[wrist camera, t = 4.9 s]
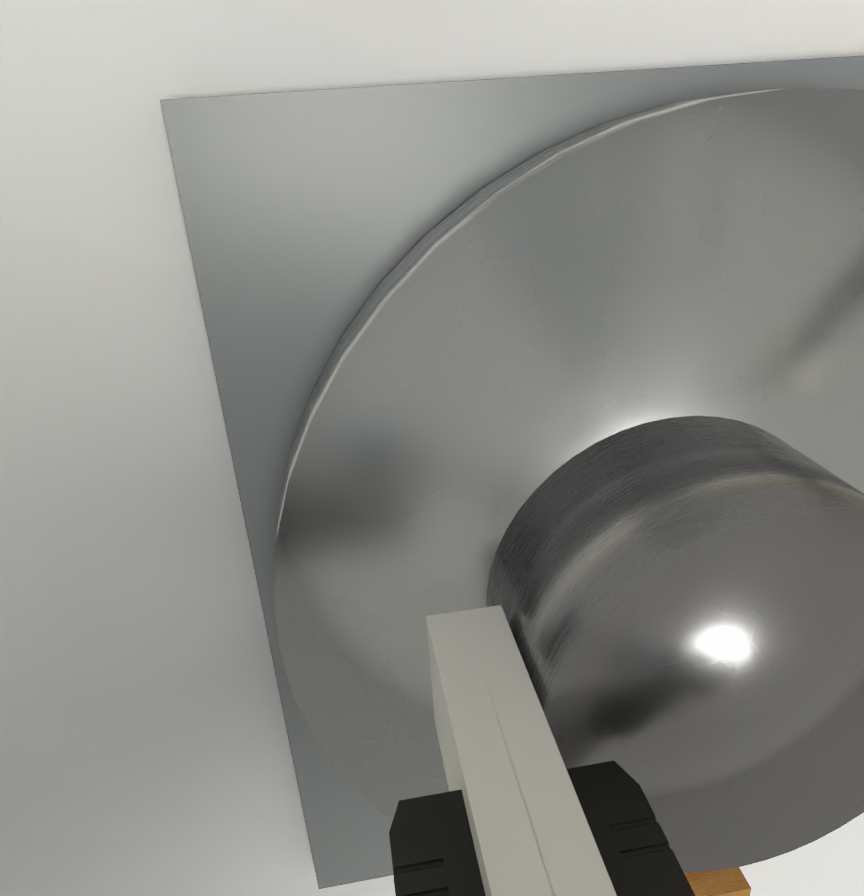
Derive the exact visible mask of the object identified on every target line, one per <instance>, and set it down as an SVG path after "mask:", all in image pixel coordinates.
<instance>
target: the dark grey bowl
mask: <svg viewBox="0 0 864 896" xmlns="http://www.w3.org/2000/svg"><path fill="white" fill-rule="evenodd" d="M497 605H501V607H502V609H503V612H504V614H505V617H506V619H507V622H508V624H509V627H510V629H511V632H512V634H513V637H514V639H515V642H516V644H517V647H518V649H519V652H520V654H521V657H522V659H523V662H524V664H525V667H526V669H527V672H528V674H529V677H530V679H531V682H532V684H533V687H534V689H535V692H536V694H537V697H538V699H539V702H540V704H541V707H542V709H543V712H544V714H545V717H546V719H547V722H548V724H549V727H550V729H551V732H552V734H553V737H554V739H555V742H556V744H557V747H558V749H559V752H560V754H561V757H562V760H563V762H564V765H565V767H566V769H569V768H574V767H580V766H585V765H591V764H597V763H602V762H608V761H615V762H616V763H617V764H618V765H619V766H621V767H622V768H623V769H624V770H625V771H626V772H627V773H628V774H629V775H630V776H631V777H632V778H633V779H634V780H635V781H636V782H637V783H638V784H639V785H640V786H641V788H642V790H643V792H644V794H645V796H646V798H647V800H648V802H649V804H650V806H651V808H652V810H653V812H654V814H655V816H656V821H657V823H658V822H659V824H660V826H661V828H662V830H663V832H664V834H665V836H666V838H667V840H668V842H669V847H670V849H672V850H673V852H674V854H675V856H676V858H677V860H678V862H679V864H680V866H681V868H682V870H683V872H684V873H694V872H706V871H717V870H723V869H729V868H735V867H740V866H744V865H748V864H752V863H756V862H760V861H763V860H767V859H770V858H773V857H776V856H778V855H781V854H784V853H787V852H790V851H792V850H795V849H797V848H799V847H801V846H804V845H806V844H808V843H811V842H813V841H815V840H817V839H819V838H821V837H823V836H825V835H826V834H828V833H830V832H832V831H834V830H836V829H838V828H840V827H841V826H843V825H844V824H846V823H847V822H849V821H851V820H852V819H854V818H855V817H857V816H858V815H860V814H862V813H863V812H864V494H863V493H862V492H860V491H859V490H857V489H856V488H854V487H853V486H851V485H850V484H848V483H847V482H845V481H844V480H842V479H841V478H839V477H838V476H836V475H834V474H833V473H831V472H830V471H828V470H827V469H825V468H824V467H822V466H821V465H819V464H818V463H816V462H815V461H813V460H812V459H810V458H809V457H807V456H805V455H804V454H802V453H801V452H799V451H798V450H796V449H795V448H793V447H792V446H790V445H789V444H787V443H786V442H784V441H783V440H781V439H780V438H778V437H776V436H774V435H772V434H771V433H769V432H767V431H765V430H763V429H761V428H759V427H756V426H753V425H750V424H748V423H745V422H742V421H738V420H733V419H727V418H722V417H712V416H685V417H673V418H666V419H662V420H657V421H652V422H647V423H644V424H641V425H638V426H635V427H632V428H629V429H626V430H623V431H620V432H618V433H616V434H614V435H611V436H609V437H607V438H605V439H603V440H601V441H599V442H596V443H595V444H593V445H592V446H590V447H588V448H587V449H585V450H583V451H582V452H580V453H579V454H577V455H575V456H574V457H572V458H571V459H570V460H569V461H567V462H566V463H565V464H563V465H562V466H561V467H560V468H558V469H557V470H556V471H554V472H553V473H552V474H551V475H550V476H549V477H548V478H547V479H546V480H545V481H544V482H543V483H542V484H541V485H540V486H539V487H538V488H537V489H536V490H535V491H534V492H533V493H532V494H531V496H530V497H529V498H528V499H527V501H526V502H525V503H524V504H523V505H522V507H521V508H520V509H519V510H518V512H517V514H516V515H515V517H514V518H513V520H512V522H511V523H510V525H509V526H508V528H507V529H506V531H505V534H504V536H503V538H502V540H501V542H500V544H499V546H498V548H497V551H496V554H495V557H494V560H493V563H492V566H491V570H490V574H489V580H488V586H487V592H486V607H491V606H497Z"/></svg>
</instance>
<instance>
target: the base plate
mask: <svg viewBox="0 0 864 896" xmlns="http://www.w3.org/2000/svg"><path fill="white" fill-rule="evenodd" d="M786 88H804V89H860V90H864V56H851V57H835V58H819V59H803V60H788V61H772V62H756V63H740V64H724V65H708V66H692V67H676V68H660V69H644V70H628V71H613V72H597V73H581V74H565V75H549V76H533V77H517V78H501V79H485V80H469V81H453V82H438V83H422V84H406V85H390V86H374V87H358V88H342V89H326V90H310V91H294V92H278V93H263V94H247V95H231V96H215V97H199V98H183V99H167V100H160V102H161V107H162V112H163V117H164V122H165V127H166V132H167V137H168V142H169V147H170V152H171V157H172V162H173V167H174V172H175V177H176V182H177V187H178V192H179V197H180V202H181V207H182V212H183V216H184V221H185V226H186V231H187V236H188V241H189V246H190V251H191V256H192V261H193V266H194V271H195V276H196V281H197V286H198V291H199V296H200V301H201V306H202V311H203V316H204V321H205V326H206V331H207V336H208V341H209V346H210V350H211V355H212V360H213V365H214V370H215V375H216V380H217V385H218V390H219V395H220V400H221V405H222V410H223V415H224V420H225V425H226V430H227V435H228V440H229V445H230V450H231V455H232V460H233V465H234V470H235V475H236V480H237V484H238V489H239V494H240V499H241V504H242V509H243V514H244V519H245V524H246V529H247V534H248V539H249V544H250V549H251V554H252V559H253V564H254V569H255V574H256V579H257V584H258V589H259V594H260V599H261V604H262V609H263V614H264V618H265V623H266V628H267V633H268V638H269V643H270V648H271V653H272V658H273V663H274V668H275V673H276V678H277V683H278V688H279V693H280V698H281V703H282V708H283V713H284V718H285V723H286V728H287V733H288V738H289V743H290V748H291V753H292V757H293V762H294V767H295V772H296V777H297V782H298V787H299V792H300V797H301V802H302V807H303V812H304V817H305V822H306V827H307V832H308V837H309V842H310V847H311V852H312V857H313V862H314V867H315V872H316V877H317V882H318V887H319V889H322V888H327V887H332V886H337V885H343V884H348V883H353V882H358V881H363V880H369V879H374V878H379V877H384V876H390V875H394V874H393V865H392V856H391V847H390V838H389V831H390V828H391V825H392V821H393V820H392V819H390V818H389V817H388V816H386V815H385V814H384V813H382V812H381V811H380V810H378V809H377V808H376V807H374V806H373V805H372V804H370V803H369V802H368V801H366V800H365V799H364V798H363V797H362V796H361V795H360V793H359V792H358V791H357V790H356V789H355V788H354V787H353V786H352V785H351V784H350V783H349V782H348V781H347V780H346V779H345V778H344V777H343V776H342V775H341V774H340V773H339V772H338V771H337V770H336V768H335V767H334V765H333V764H332V763H331V761H330V760H329V758H328V757H327V755H326V754H325V753H324V751H323V750H322V748H321V747H320V745H319V744H318V743H317V741H316V740H315V738H314V737H313V735H312V734H311V732H310V730H309V728H308V726H307V723H306V721H305V719H304V717H303V715H302V713H301V711H300V709H299V707H298V704H297V702H296V700H295V698H294V696H293V694H292V691H291V687H290V684H289V680H288V677H287V673H286V670H285V666H284V663H283V659H282V656H281V652H280V648H279V642H278V633H277V623H276V614H275V605H274V577H275V557H276V539H277V528H278V516H279V504H280V499H281V495H282V490H283V485H284V480H285V475H286V470H287V466H288V461H289V456H290V451H291V448H292V445H293V442H294V440H295V437H296V434H297V431H298V429H299V426H300V423H301V420H302V418H303V415H304V412H305V409H306V407H307V404H308V401H309V398H310V396H311V393H312V391H313V390H314V388H315V386H316V384H317V382H318V380H319V378H320V376H321V375H322V373H323V371H324V369H325V367H326V365H327V363H328V361H329V359H330V358H331V356H332V354H333V352H334V350H335V348H336V346H337V344H338V342H339V341H340V339H341V337H342V336H343V335H344V333H345V332H346V330H347V329H348V328H349V326H350V325H351V323H352V322H353V321H354V319H355V318H356V316H357V315H358V314H359V312H360V311H361V309H362V308H363V307H364V305H365V304H366V302H367V301H368V300H369V298H370V297H371V295H372V294H373V293H374V291H375V290H376V288H377V287H378V286H379V284H380V283H381V282H382V281H383V280H384V279H385V278H386V277H387V276H388V275H389V274H390V273H391V272H392V271H393V269H394V268H395V267H396V266H397V265H398V264H399V263H400V262H401V261H402V260H403V259H404V258H405V257H406V256H407V254H408V253H409V252H410V251H411V250H412V249H413V248H414V247H415V246H416V245H417V244H418V243H419V242H420V241H421V240H422V238H423V237H424V236H425V235H426V234H427V233H429V232H430V231H431V230H432V229H433V228H435V227H436V226H437V225H438V224H440V223H441V222H442V221H443V220H444V219H446V218H447V217H448V216H449V215H450V214H452V213H453V212H454V211H455V210H457V209H458V208H459V207H460V206H461V205H463V204H464V203H465V202H466V201H467V200H469V199H470V198H471V197H472V196H474V195H475V194H476V193H477V192H478V191H480V190H481V189H482V188H484V187H486V186H487V185H489V184H490V183H492V182H494V181H495V180H497V179H498V178H500V177H502V176H503V175H505V174H506V173H508V172H510V171H511V170H513V169H514V168H516V167H518V166H519V165H521V164H522V163H524V162H526V161H527V160H529V159H530V158H532V157H533V156H535V155H537V154H538V153H540V152H541V151H544V150H546V149H548V148H550V147H552V146H555V145H557V144H559V143H561V142H563V141H566V140H568V139H570V138H572V137H574V136H577V135H579V134H581V133H583V132H585V131H588V130H590V129H592V128H594V127H596V126H599V125H601V124H603V123H605V122H608V121H612V120H615V119H618V118H622V117H625V116H628V115H632V114H635V113H638V112H642V111H645V110H649V109H652V108H655V107H659V106H662V105H665V104H669V103H672V102H678V101H685V100H692V99H699V98H706V97H713V96H720V95H727V94H734V93H741V92H752V91H763V90H774V89H786Z"/></svg>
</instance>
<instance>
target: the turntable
mask: <svg viewBox="0 0 864 896" xmlns="http://www.w3.org/2000/svg"><path fill="white" fill-rule="evenodd" d="M685 416H712V417H722V418H727V419H733V420H738V421H742V422H745V423H748V424H750V425H753V426H756V427H759V428H761V429H763V430H765V431H767V432H769V433H771V434H772V435H774V436H776V437H778V438H780V439H781V440H783V441H784V442H786V443H787V444H789V445H790V446H792V447H793V448H795V449H796V450H798V451H799V452H801V453H802V454H804V455H805V456H807V457H809V458H810V459H812V460H813V461H815V462H816V463H818V464H819V465H821V466H822V467H824V468H825V469H827V470H828V471H830V472H831V473H833V474H834V475H836V476H838V477H839V478H841V479H842V480H844V481H845V482H847V483H848V484H850V485H851V486H853V487H854V488H856V489H857V490H859V491H860V492H862V493H863V494H864V90H860V89H804V88H786V89H774V90H763V91H752V92H741V93H734V94H727V95H720V96H713V97H706V98H699V99H692V100H685V101H678V102H672V103H669V104H665V105H662V106H659V107H655V108H652V109H649V110H645V111H642V112H638V113H635V114H632V115H628V116H625V117H622V118H618V119H615V120H612V121H608V122H605V123H603V124H601V125H599V126H596V127H594V128H592V129H590V130H588V131H585V132H583V133H581V134H579V135H577V136H574V137H572V138H570V139H568V140H566V141H563V142H561V143H559V144H557V145H555V146H552V147H550V148H548V149H546V150H544V151H541V152H540V153H538V154H537V155H535V156H533V157H532V158H530V159H529V160H527V161H526V162H524V163H522V164H521V165H519V166H518V167H516V168H514V169H513V170H511V171H510V172H508V173H506V174H505V175H503V176H502V177H500V178H498V179H497V180H495V181H494V182H492V183H490V184H489V185H487V186H486V187H484V188H482V189H481V190H480V191H478V192H477V193H476V194H475V195H474V196H472V197H471V198H470V199H469V200H467V201H466V202H465V203H464V204H463V205H461V206H460V207H459V208H458V209H457V210H455V211H454V212H453V213H452V214H450V215H449V216H448V217H447V218H446V219H444V220H443V221H442V222H441V223H440V224H438V225H437V226H436V227H435V228H433V229H432V230H431V231H430V232H429V233H427V234H426V235H425V236H424V237H423V238H422V240H421V241H420V242H419V243H418V244H417V245H416V246H415V247H414V248H413V249H412V250H411V251H410V252H409V253H408V254H407V256H406V257H405V258H404V259H403V260H402V261H401V262H400V263H399V264H398V265H397V266H396V267H395V268H394V269H393V271H392V272H391V273H390V274H389V275H388V276H387V277H386V278H385V279H384V280H383V281H382V282H381V283H380V284H379V286H378V287H377V288H376V290H375V291H374V293H373V294H372V295H371V297H370V298H369V300H368V301H367V302H366V304H365V305H364V307H363V308H362V309H361V311H360V312H359V314H358V315H357V316H356V318H355V319H354V321H353V322H352V323H351V325H350V326H349V328H348V329H347V330H346V332H345V333H344V335H343V336H342V337H341V339H340V341H339V342H338V344H337V346H336V348H335V350H334V352H333V354H332V356H331V358H330V359H329V361H328V363H327V365H326V367H325V369H324V371H323V373H322V375H321V376H320V378H319V380H318V382H317V384H316V386H315V388H314V390H313V391H312V393H311V396H310V398H309V401H308V404H307V407H306V409H305V412H304V415H303V418H302V420H301V423H300V426H299V429H298V431H297V434H296V437H295V440H294V442H293V445H292V448H291V451H290V456H289V461H288V466H287V470H286V475H285V480H284V485H283V490H282V495H281V499H280V504H279V516H278V528H277V539H276V557H275V577H274V605H275V614H276V623H277V633H278V642H279V648H280V652H281V656H282V659H283V663H284V666H285V670H286V673H287V677H288V680H289V684H290V687H291V691H292V694H293V696H294V698H295V700H296V702H297V704H298V707H299V709H300V711H301V713H302V715H303V717H304V719H305V721H306V723H307V726H308V728H309V730H310V732H311V734H312V735H313V737H314V738H315V740H316V741H317V743H318V744H319V745H320V747H321V748H322V750H323V751H324V753H325V754H326V755H327V757H328V758H329V760H330V761H331V763H332V764H333V765H334V767H335V768H336V770H337V771H338V772H339V773H340V774H341V775H342V776H343V777H344V778H345V779H346V780H347V781H348V782H349V783H350V784H351V785H352V786H353V787H354V788H355V789H356V790H357V791H358V792H359V793H360V795H361V796H362V797H363V798H364V799H365V800H366V801H368V802H369V803H370V804H372V805H373V806H374V807H376V808H377V809H378V810H380V811H381V812H382V813H384V814H385V815H386V816H388V817H389V818H390V819H392V820H393V818H394V815H395V812H396V808H397V805H398V802H399V800H405V799H410V798H416V797H422V796H427V795H433V794H438V793H444V792H449V788H448V783H447V778H446V773H445V769H444V764H443V759H442V754H441V749H440V744H439V740H438V735H437V730H436V725H435V719H434V706H433V694H432V682H431V669H430V657H429V645H428V632H427V620H426V616H430V615H437V614H444V613H450V612H457V611H464V610H471V609H477V608H484V607H486V592H487V586H488V580H489V574H490V570H491V566H492V563H493V560H494V557H495V554H496V551H497V548H498V546H499V544H500V542H501V540H502V538H503V536H504V534H505V531H506V529H507V528H508V526H509V525H510V523H511V522H512V520H513V518H514V517H515V515H516V514H517V512H518V510H519V509H520V508H521V507H522V505H523V504H524V503H525V502H526V501H527V499H528V498H529V497H530V496H531V494H532V493H533V492H534V491H535V490H536V489H537V488H538V487H539V486H540V485H541V484H542V483H543V482H544V481H545V480H546V479H547V478H548V477H549V476H550V475H551V474H552V473H553V472H554V471H556V470H557V469H558V468H560V467H561V466H562V465H563V464H565V463H566V462H567V461H569V460H570V459H571V458H572V457H574V456H575V455H577V454H579V453H580V452H582V451H583V450H585V449H587V448H588V447H590V446H592V445H593V444H595V443H596V442H599V441H601V440H603V439H605V438H607V437H609V436H611V435H614V434H616V433H618V432H620V431H623V430H626V429H629V428H632V427H635V426H638V425H641V424H644V423H647V422H652V421H657V420H662V419H666V418H673V417H685ZM684 874H685V876H686V878H687V880H688V882H689V884H690V886H691V888H692V890H693V892H694V894H695V896H750V891H751V887H750V886H749V884H748V882H747V881H746V879H745V877H744V875H743V874H742V872H741V870H740V869H739V867H735V868H729V869H723V870H717V871H706V872H694V873H684Z"/></svg>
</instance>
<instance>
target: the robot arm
mask: <svg viewBox="0 0 864 896" xmlns="http://www.w3.org/2000/svg"><path fill="white" fill-rule="evenodd" d="M426 620H427V632H428V645H429V657H430V669H431V682H432V694H433V706H434V719H435V725H436V730H437V735H438V740H439V744H440V749H441V754H442V759H443V764H444V769H445V773H446V778H447V783H448V788H449V792H444V793H438V794H433V795H427V796H422V797H416V798H410V799H405V800H399V802H398V805H397V808H396V812H395V815H394V818H393V821H392V825H391V828H390V831H389V838H390V847H391V856H392V865H393V874H394V883H395V893H396V896H695V894H694V892H693V890H692V888H691V886H690V884H689V882H688V880H687V878H686V876H685V874H684V872H683V870H682V868H681V866H680V864H679V862H678V860H677V858H676V856H675V854H674V852H673V850H672V849H670V847H669V842H668V840H667V838H666V836H665V834H664V832H663V830H662V828H661V826H660V824H659V822H658V823H657V821H656V816H655V814H654V812H653V810H652V808H651V806H650V804H649V802H648V800H647V798H646V796H645V794H644V792H643V790H642V788H641V786H640V785H639V784H638V783H637V782H636V781H635V780H634V779H633V778H632V777H631V776H630V775H629V774H628V773H627V772H626V771H625V770H624V769H623V768H622V767H621V766H619V765H618V764H617V763H616V762H615V761H608V762H602V763H597V764H591V765H585V766H580V767H574V768H569V769H566V767H565V765H564V762H563V760H562V757H561V754H560V752H559V749H558V747H557V744H556V742H555V739H554V737H553V734H552V732H551V729H550V727H549V724H548V722H547V719H546V717H545V714H544V712H543V709H542V707H541V704H540V702H539V699H538V697H537V694H536V692H535V689H534V687H533V684H532V682H531V679H530V677H529V674H528V672H527V669H526V667H525V664H524V662H523V659H522V657H521V654H520V652H519V649H518V647H517V644H516V642H515V639H514V637H513V634H512V632H511V629H510V627H509V624H508V622H507V619H506V617H505V614H504V612H503V609H502V607H501V605H497V606H491V607H484V608H477V609H471V610H464V611H457V612H450V613H444V614H437V615H430V616H426Z"/></svg>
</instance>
